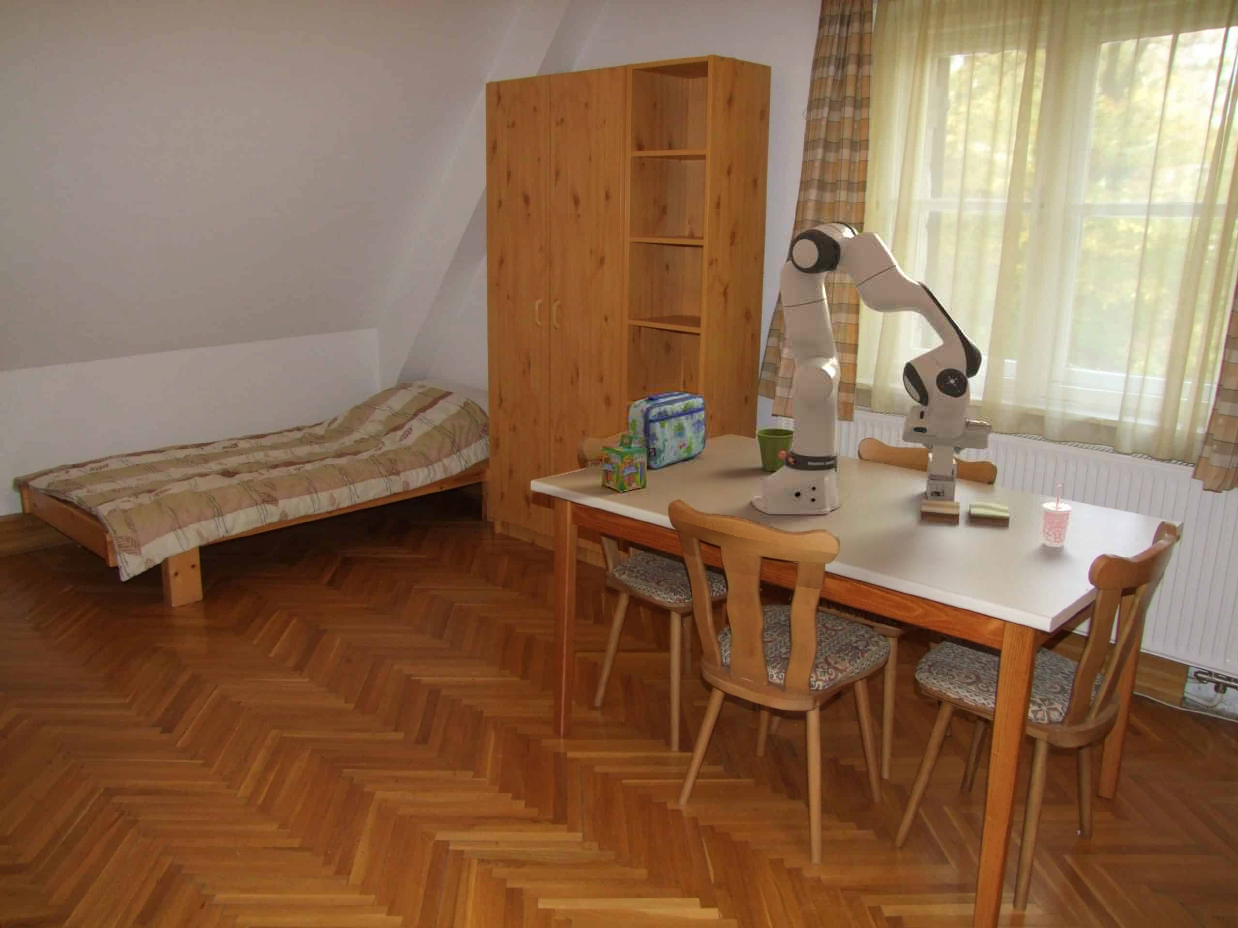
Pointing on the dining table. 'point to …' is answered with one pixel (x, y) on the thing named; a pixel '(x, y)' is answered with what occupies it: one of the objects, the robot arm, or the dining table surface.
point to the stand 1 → (940, 511)
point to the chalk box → (624, 465)
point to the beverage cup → (1055, 522)
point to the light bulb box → (941, 484)
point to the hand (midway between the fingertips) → (943, 450)
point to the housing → (942, 463)
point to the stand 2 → (989, 513)
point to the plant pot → (774, 446)
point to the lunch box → (669, 427)
